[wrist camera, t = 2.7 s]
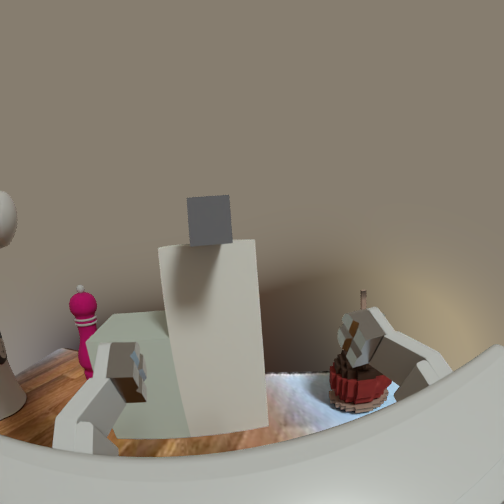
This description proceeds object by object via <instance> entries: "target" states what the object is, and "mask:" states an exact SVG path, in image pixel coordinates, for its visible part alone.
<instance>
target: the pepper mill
mask: <svg viewBox="0 0 504 504" xmlns="http://www.w3.org/2000/svg"><path fill="white" fill-rule="evenodd" d="M76 289H77V292H78V293H77V294H75V295H74V296H72V298H71V299H70V303H69V307H70V311H71V313H72V314H73V315H74V316H75V318H74V320H75V325H76V326H78V330H79V334H80V347H79V352H78V358H79V363H80V365H81V366H82V367H83V368H84V369H85V376H86V379H87V380H88V379H89V378H93V369H92V365H91V362H90V358H89V354H88V350H87V346H86V341H87V340H88V339H89V338H90V337H91V336H92V335H93V334H94V333H95V332H96V331H97V328H96V323H97V319H96V317H97V316H96V315H95V311H96V309H97V303H96V300H95V298H94V297H93V296H92V295H91V294H89V293H86V292H84V290H85V289H84V287H83V286H82V285H78V286H77V288H76Z"/></svg>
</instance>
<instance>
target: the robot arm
mask: <svg viewBox="0 0 504 504" xmlns="http://www.w3.org/2000/svg"><path fill="white" fill-rule="evenodd" d="M16 228H17V211H16V207H15V204H14V202H13V200H12V198H11V197H10V196H9V195H8V193H6V192H3V191H0V249H1V248H3V247H6V246H8V245H9V244H10V242H11V241H12V239H13V237H14V235H15V232H16ZM342 321H343V324H342V325H341V326H340V327H339V330H338V341H339V344H340V346H341V348H342V349H344V350H345V351H347V354H346V357H347V359H348V361H349V362H350V364H351V366H352V368H354V367H357V366H361V365H364V364H368V363H369V364H370V365H371V366H372V367H374V368H375V369H376V370H378V371H379V372H381V373H382V374H383V375H385V376H386V377H388V378H389V379H390V380H392V381H393V382H395V383H396V384H397V385H399V386H400V387H399V388H398V389H397V391H396V392H395V393H394V398H395V399H396V401H397V402H396V403H394V404H391V405H389V406H387V407H385V408H382V409H380V410H378V411H375V412H373V413H370V414H368V415H365V416H363V417H360V418H358V419H355V420H352V421H350V422H347V423H344V424H341V425H338V426H335V427H332V428H329V429H326V430H323V431H320V432H316V433H313V434H309V435H306V436H302V437H299V438H295V439H291V440H287V441H283V442H278V443H274V444H269V445H264V446H259V447H254V448H248V449H243V450H236V451H230V452H222V453H214V454H205V455H193V456H178V457H122V456H119V455H118V448H117V447H116V446H115V445H114V444H113V443H112V442H111V441H110V440H109V439H107V436H108V434H109V433H110V431H111V429H112V428H113V426H114V424H115V423H116V421H117V419H118V418H119V416H120V414H121V413H122V411H123V409H124V408H125V406H126V403H142V402H147V387H146V385H145V383H144V381H145V380H146V378H147V369H146V363H145V359H144V356H143V355H142V354H141V353H140V346H139V344H138V342H112V343H100V344H99V345H98V348H97V354H96V360H95V366H94V372H93V378H89V379H88V380H87V381H86V382H85V384H84V385H83V386H82V387H81V388H80V389H79V391H78V392H77V393H76V394H75V395H74V396H73V398H72V399H71V400H70V401H69V402H68V404H67V405H66V406H65V407H64V408H63V410H62V411H61V412H60V413H59V414H58V416H57V417H56V420H55V428H54V436H53V446H52V448H50V447H45V446H41V445H36V444H32V443H28V442H24V441H20V440H17V439H13V438H10V437H6V436H3V435H0V504H504V347H503V346H501V345H498V344H495V345H493V346H491V347H489V348H488V349H487V350H485V351H484V352H482V353H481V354H480V355H479V356H477V357H475V358H474V359H473V360H471V361H469V362H468V363H466V364H465V365H463V366H462V367H460V368H459V369H457V370H455V371H454V372H453V371H452V369H451V368H450V367H449V365H448V364H447V363H446V361H445V360H444V358H443V357H442V356H441V354H440V353H439V352H438V351H436V350H434V349H432V348H430V347H428V346H426V345H424V344H422V343H420V342H418V341H416V340H415V339H412V338H411V337H409V336H407V335H405V334H403V333H401V332H399V331H397V332H396V331H395V330H394V329H393V327H392V326H391V325H390V323H389V322H388V321H387V319H386V318H385V317H384V315H383V314H382V313H381V312H380V310H379V309H378V308H377V307H372V308H368V309H363V310H359V311H354V312H351V313H346V314H345V315H344V316H343V318H342ZM25 401H26V393H25V392H24V391H23V389H22V388H21V386H20V385H19V383H18V381H17V380H16V378H15V376H14V374H13V372H12V370H11V368H10V365H9V363H8V360H7V354H6V350H5V346H4V342H3V340H2V336H1V333H0V420H1V419H3V418H5V417H8V416H10V415H12V414H14V413H15V412H17V411H18V410H19V409H20V408H21V407H22V406H23V405H24V403H25Z"/></svg>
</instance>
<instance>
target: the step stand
mask: <svg viewBox="0 0 504 504" xmlns="http://www.w3.org/2000/svg"><path fill="white" fill-rule="evenodd" d="M158 253H159V262H160V263H159V264H160V273H161V282H162V290H163V297H164V306H165V311H153V312H140V313H124V314H113V315H112V316H111V317H110V318H109V319H108V320H107V321H106V322H105V323H104V324H103V325H102V326H101V327H100V328H99V329H98V330H97V331H96V332H95V333H94V334H93V335H92V336H91V337H90V338H89V339H88V340H87V341H86V346H87V350H88V354H89V358H90V362H91V365H92V369H93V372H94V366H95V360H96V354H97V348H98V345H99V344H100V343H112V342H138V344H139V346H140V353H141V354H142V355H143V356H144V359H145V363H146V369H147V378H146V380H145V381H144V383H145V385H146V387H147V402H142V403H126V406H125V408H124V409H123V411H122V413H121V414H120V416H119V418H118V419H117V421H116V423H115V424H114V426H113V430H114V432H115V435H116V437H117V438H119V439H168V438H186V437H198V436H208V435H217V434H225V433H232V432H239V431H245V430H251V429H256V428H262V427H267V426H269V425H268V411H267V397H266V383H265V370H264V357H263V342H262V330H261V315H260V302H259V289H258V276H257V263H256V251H255V240H233V243H229V244H217V245H205V246H194V247H190V244H182V245H172V246H165V247H161V248H158Z"/></svg>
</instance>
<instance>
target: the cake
mask: <svg viewBox="0 0 504 504" xmlns="http://www.w3.org/2000/svg"><path fill="white" fill-rule="evenodd" d="M363 309H366V290H361V310H363ZM382 314H383V313H382ZM383 315H384V314H383ZM384 317H385V315H384ZM346 354H347V351H345V350H342V353H341V354H339V355H338V358H337V359H334V361H335V362H334V363H333V366H330V385H331V389H332V391H329V397H330V403H335V406H336V408H338V407H340V408H341V410H342V409H345V410H346V412H347V411H355V413H360V412H367V411H373V408H376V407H380V406H381V404H383V403H384V401H386V400H387V396H388V393H389V392H388V390H387V387H389V385H390V384H391V383H392V380H390V379H389V378H388V377H386V376H385V375H383V374H382V373H381V372H379V371H378V370H376V369H375V368H374V367H372V366H371V365H370V364H369V363H368V364H364V365H361V366H357V367H354V368H352V366H351V364H350V362H349V361H348V359H347V357H346Z"/></svg>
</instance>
